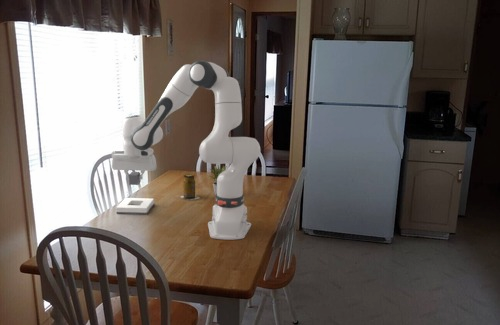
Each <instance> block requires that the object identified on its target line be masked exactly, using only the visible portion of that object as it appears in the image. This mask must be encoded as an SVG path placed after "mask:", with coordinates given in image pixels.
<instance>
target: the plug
mask: <svg viewBox="0 0 500 325" xmlns="http://www.w3.org/2000/svg"><path fill="white" fill-rule="evenodd" d="M139 175H141V171H132V172H130V173H129V179H128V185H130V186H131V185H132V186H138V185H139V184H140V183H141V182H142V180H139V178H138V176H139Z"/></svg>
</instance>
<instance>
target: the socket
mask: <svg viewBox="0 0 500 325" xmlns="http://www.w3.org/2000/svg"><path fill="white" fill-rule="evenodd" d="M154 205H155V198H144V197H124V199H123V200H122V201H121V202H120V203H119V204H118V205H117V206H116V208H115V210H116V214H117V215H118V214H119V215H121V214H122V215H148V213H149V212H150V211H151V209H152V208H153V206H154Z"/></svg>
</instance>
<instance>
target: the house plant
mask: <svg viewBox="0 0 500 325" xmlns="http://www.w3.org/2000/svg"><path fill="white" fill-rule="evenodd" d="M219 166H220V164H217V166H216V165H214V169H211V168H209V170H210V171H211V173H212V174H213V176H212V175H208V176H207V177H209V178H212V179H214V182H212V186H213V192H214V196H216V194H217V178H218V176H219V174H220V173H222V172H223V171H225V170H227V168H228V167H227V166H225V165H223V166H222V167H221V169H220V167H219Z"/></svg>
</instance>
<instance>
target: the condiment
mask: <svg viewBox="0 0 500 325" xmlns="http://www.w3.org/2000/svg"><path fill="white" fill-rule="evenodd" d="M182 182H183V186H182V187H183V188H182V189H183V195H181V196H179V197H180V198H182V199H184V200H186V201H193V200H194V201H195V200H198V199H200V197H199V196H197V195H196V180H195V174H194V173H186V174H184V175H183V181H182Z"/></svg>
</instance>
